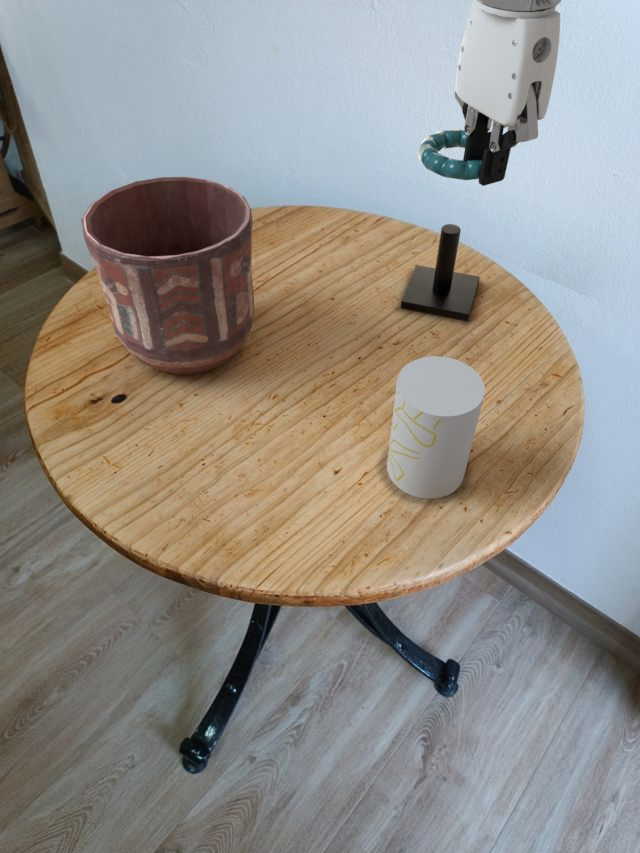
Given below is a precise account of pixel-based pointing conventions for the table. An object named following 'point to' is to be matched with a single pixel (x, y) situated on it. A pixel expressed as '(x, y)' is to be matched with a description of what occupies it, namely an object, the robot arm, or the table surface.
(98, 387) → the table surface
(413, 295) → the peg stand
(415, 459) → the grey cylinder
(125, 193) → the pottery
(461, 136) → the ring
